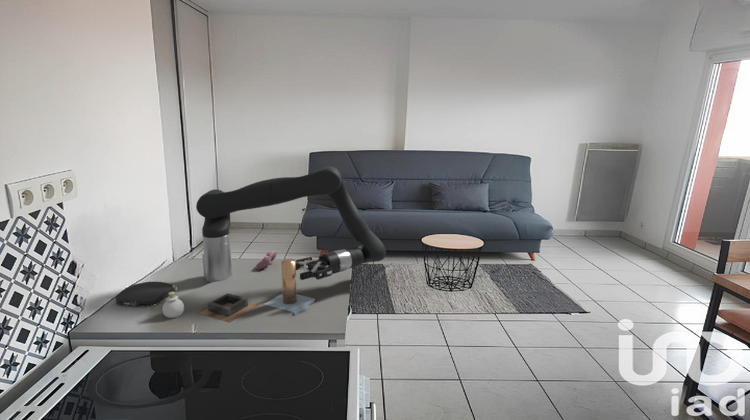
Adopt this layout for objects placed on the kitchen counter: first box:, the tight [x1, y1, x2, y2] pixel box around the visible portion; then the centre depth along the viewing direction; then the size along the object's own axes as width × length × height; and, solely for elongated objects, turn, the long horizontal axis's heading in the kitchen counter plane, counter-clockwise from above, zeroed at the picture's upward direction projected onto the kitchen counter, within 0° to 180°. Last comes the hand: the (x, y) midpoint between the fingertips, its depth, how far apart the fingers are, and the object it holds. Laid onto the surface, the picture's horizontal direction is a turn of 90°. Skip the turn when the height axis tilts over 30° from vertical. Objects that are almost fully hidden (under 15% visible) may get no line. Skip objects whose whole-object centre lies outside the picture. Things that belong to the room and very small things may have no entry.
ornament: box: [162, 285, 185, 319], centre depth 132 cm, size 6×7×10 cm
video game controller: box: [255, 250, 278, 270], centre depth 175 cm, size 10×5×7 cm, turn 170°
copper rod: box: [280, 258, 297, 304], centre depth 140 cm, size 4×4×14 cm
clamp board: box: [196, 292, 260, 323], centre depth 137 cm, size 14×13×4 cm
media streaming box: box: [115, 281, 175, 307], centre depth 146 cm, size 15×15×3 cm
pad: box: [264, 292, 315, 316], centre depth 142 cm, size 12×11×1 cm
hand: (293, 272), depth 141 cm, fingers open, 8 cm apart
